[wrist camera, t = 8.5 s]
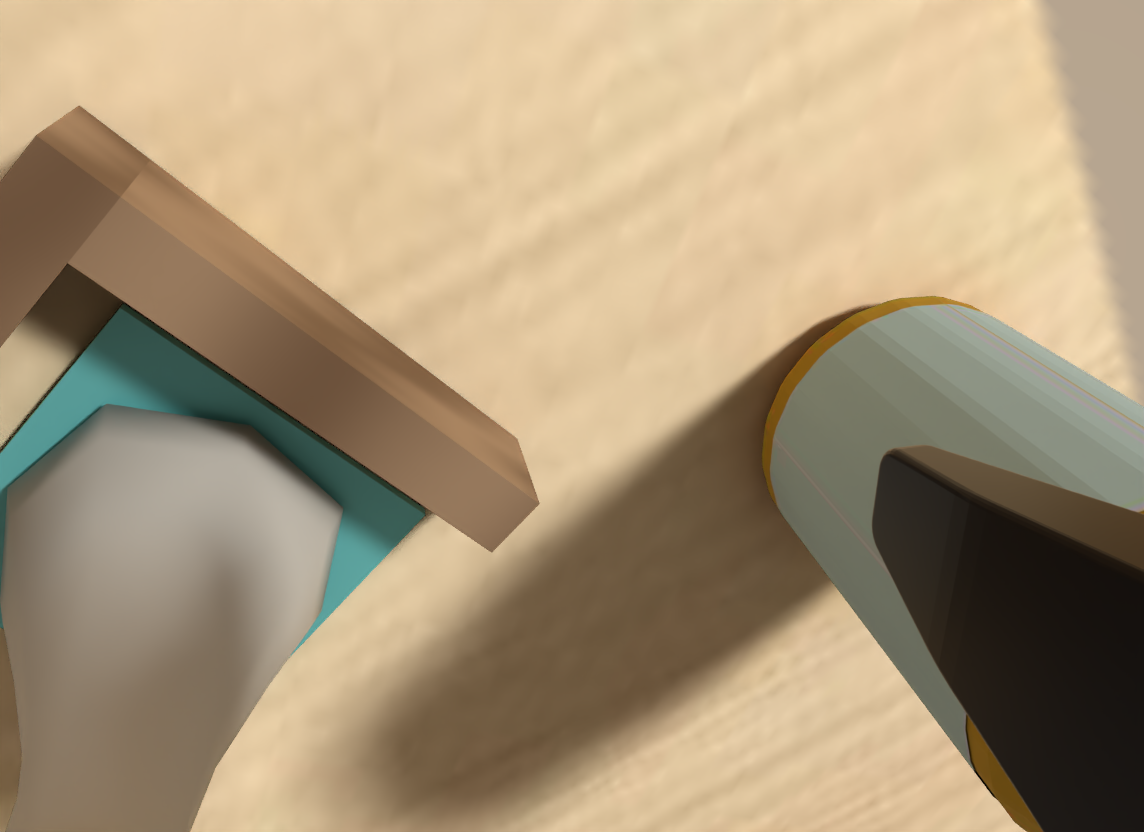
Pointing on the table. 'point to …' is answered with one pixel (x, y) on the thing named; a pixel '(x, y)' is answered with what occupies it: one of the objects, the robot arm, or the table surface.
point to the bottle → (947, 421)
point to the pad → (200, 389)
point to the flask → (151, 610)
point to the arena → (250, 320)
